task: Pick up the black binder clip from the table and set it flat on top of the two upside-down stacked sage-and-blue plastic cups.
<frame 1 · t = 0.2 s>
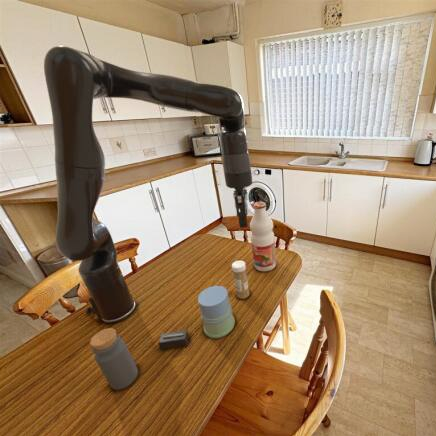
hand: (244, 220, 73), 29 cm above the table, tool pointing down, fingers open, 8 cm apart
stacked cups: (219, 325, 74), on the table
fruit juice: (265, 265, 101), on the table
sprinkles bottle: (243, 295, 85), on the table
clip: (175, 343, 68), on the table
bottle: (125, 378, 60), on the table
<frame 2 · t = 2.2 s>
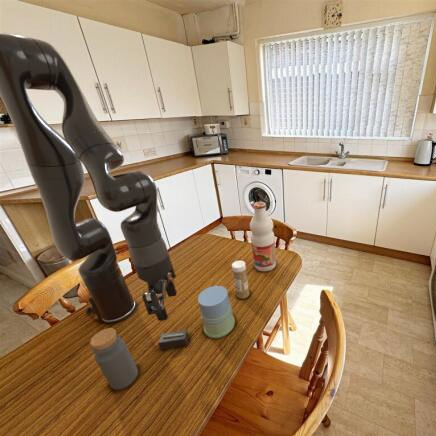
hand: (168, 306, 64), 13 cm above the table, tool pointing down, fingers open, 8 cm apart
nothing on the table moved.
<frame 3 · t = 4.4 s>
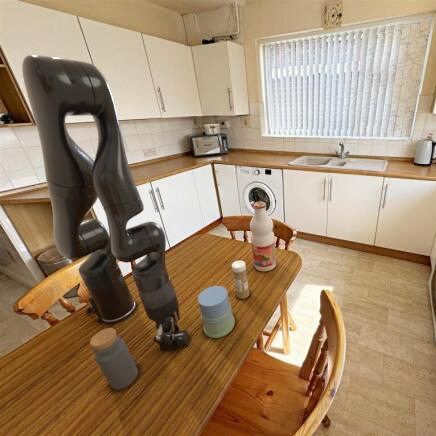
hand: (175, 342, 68), 0 cm above the table, tool pointing down, fingers closed on clip, 3 cm apart
clip: (175, 343, 68), on the table, touching gripper
everything else where it was.
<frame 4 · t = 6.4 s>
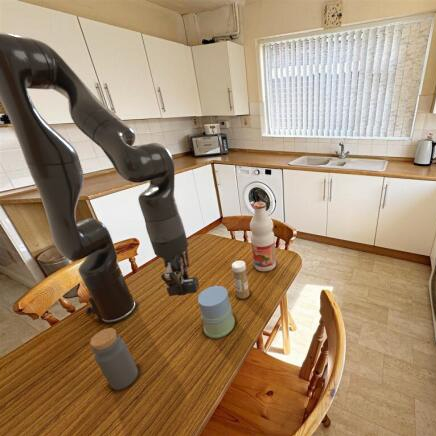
hand: (184, 289, 63), 17 cm above the table, tool pointing down, fingers closed on clip, 3 cm apart
clip: (184, 290, 63), point 17 cm above the table, touching gripper
everything else where it was.
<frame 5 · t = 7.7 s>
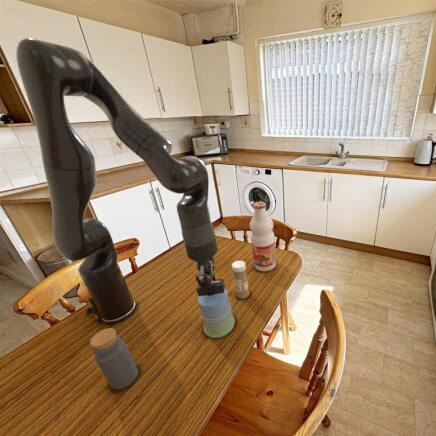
hand: (211, 290, 68), 14 cm above the table, tool pointing down, fingers closed on clip, 3 cm apart
clip: (212, 291, 68), point 14 cm above the table, touching gripper
everything else where it was.
when the fingers open (12 cm above the table, at t = 8.5 s): clip stays where it is, resting on stacked cups.
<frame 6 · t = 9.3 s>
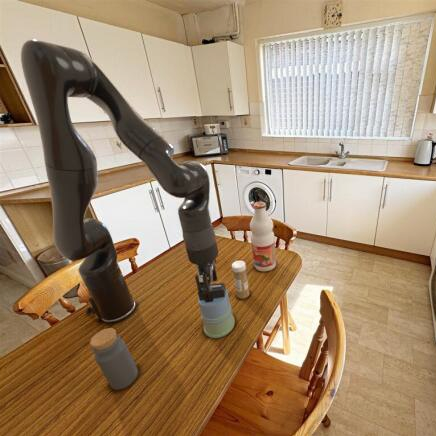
hand: (211, 290, 68), 14 cm above the table, tool pointing down, fingers open, 8 cm apart
clip: (213, 295, 68), point 12 cm above the table, touching stacked cups
everything else where it was.
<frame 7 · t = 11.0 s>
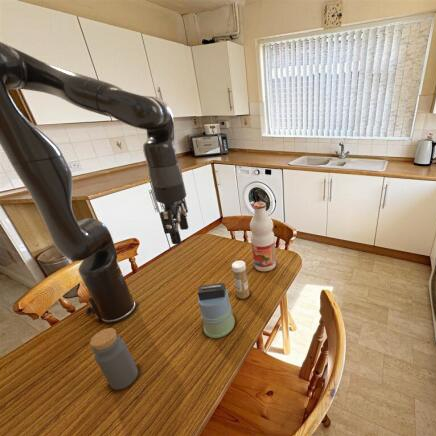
hand: (181, 235, 69), 28 cm above the table, tool pointing down, fingers open, 8 cm apart
nothing on the table moved.
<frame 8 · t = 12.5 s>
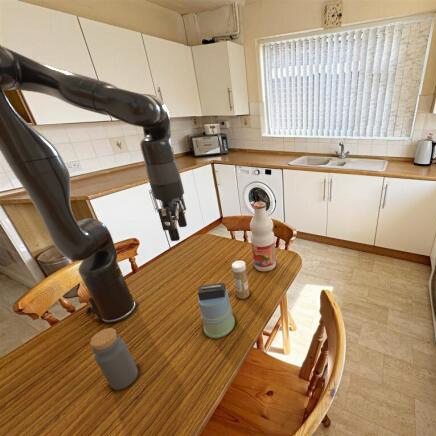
hand: (179, 233, 69), 28 cm above the table, tool pointing down, fingers open, 8 cm apart
nothing on the table moved.
at the end: clip 0.0 cm off-centre on the stacked cups, point 12.0 cm above the stacked cups's base; clip tilted 0°; the gripper is holding nothing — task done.
